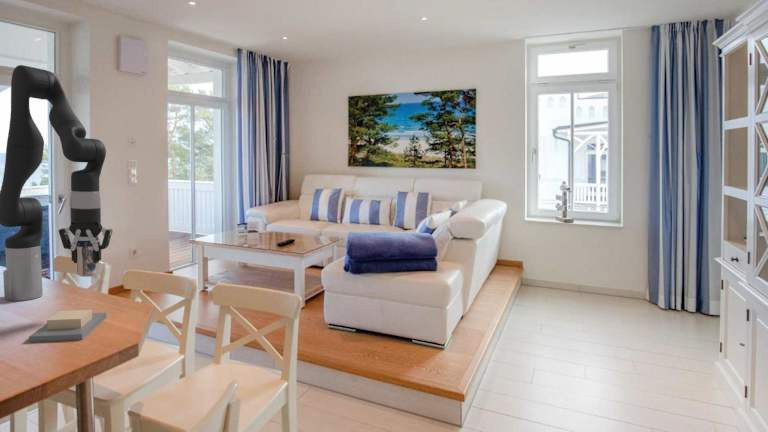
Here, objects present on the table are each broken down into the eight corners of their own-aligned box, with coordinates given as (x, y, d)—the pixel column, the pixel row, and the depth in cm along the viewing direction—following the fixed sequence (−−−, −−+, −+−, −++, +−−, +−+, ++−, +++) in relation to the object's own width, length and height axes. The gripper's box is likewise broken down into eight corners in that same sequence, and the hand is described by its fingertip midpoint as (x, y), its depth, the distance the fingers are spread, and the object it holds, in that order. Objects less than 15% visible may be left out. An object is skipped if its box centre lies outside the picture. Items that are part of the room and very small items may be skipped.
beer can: (86, 277, 135) (86, 237, 134) (73, 276, 136) (72, 236, 135) (100, 274, 140) (99, 235, 139) (86, 272, 141) (86, 234, 140)
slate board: (29, 342, 117) (28, 327, 116) (60, 319, 134) (60, 305, 134) (82, 339, 120) (81, 324, 119) (106, 317, 137) (105, 304, 137)
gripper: (116, 205, 141) (117, 260, 143) (63, 204, 138) (64, 259, 140) (108, 208, 134) (108, 265, 136) (52, 206, 131) (53, 265, 132)
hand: (86, 262), depth 138 cm, fingers closed on beer can, 4 cm apart
